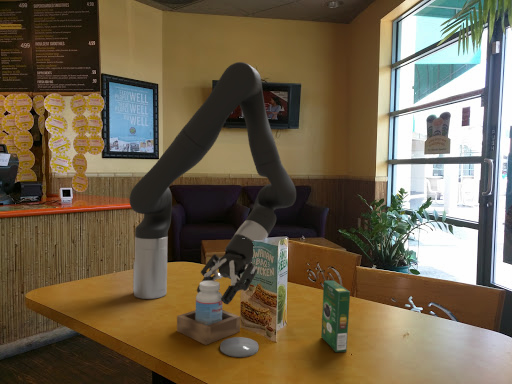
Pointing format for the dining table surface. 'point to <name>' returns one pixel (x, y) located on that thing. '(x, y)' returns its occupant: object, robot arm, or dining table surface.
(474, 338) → the dining table surface
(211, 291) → the pill bottle
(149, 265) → the robot arm
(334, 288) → the coffee box
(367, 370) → the dining table surface
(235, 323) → the square open box
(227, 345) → the coaster
